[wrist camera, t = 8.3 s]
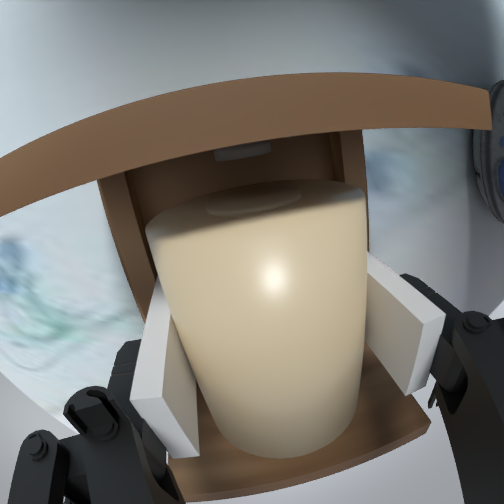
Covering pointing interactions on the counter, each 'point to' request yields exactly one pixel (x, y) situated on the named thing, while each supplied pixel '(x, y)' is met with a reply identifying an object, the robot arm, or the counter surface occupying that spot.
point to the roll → (270, 307)
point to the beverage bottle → (492, 154)
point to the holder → (234, 175)
